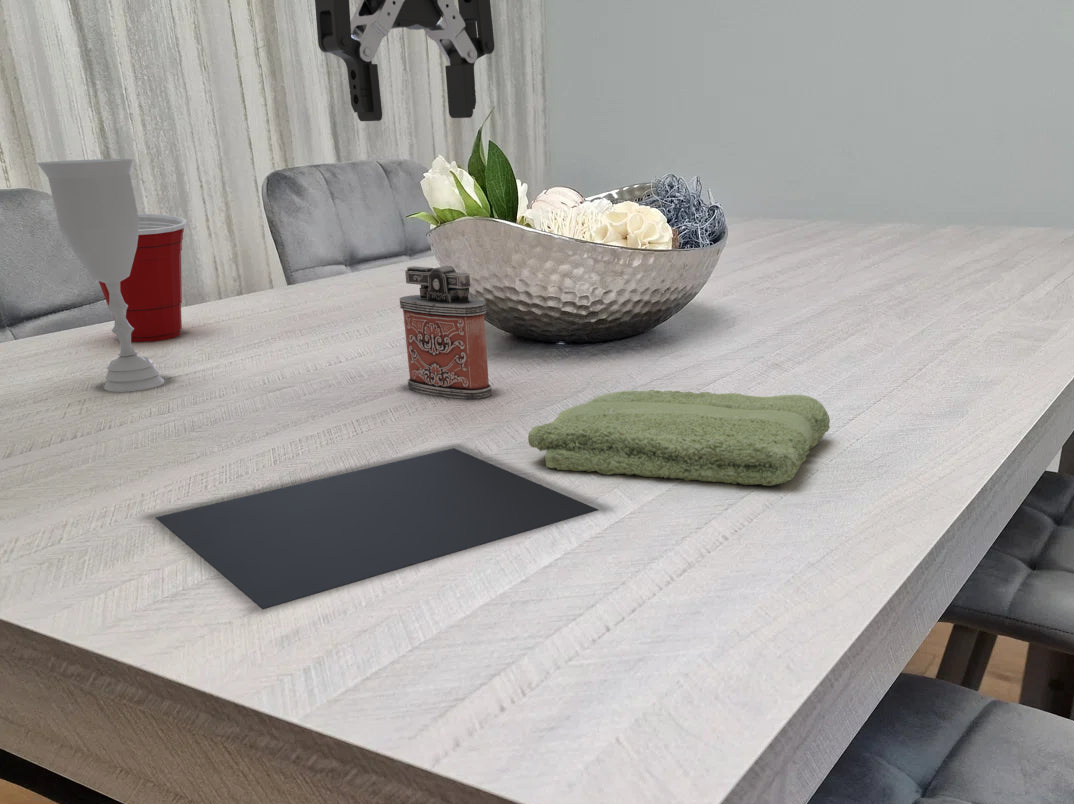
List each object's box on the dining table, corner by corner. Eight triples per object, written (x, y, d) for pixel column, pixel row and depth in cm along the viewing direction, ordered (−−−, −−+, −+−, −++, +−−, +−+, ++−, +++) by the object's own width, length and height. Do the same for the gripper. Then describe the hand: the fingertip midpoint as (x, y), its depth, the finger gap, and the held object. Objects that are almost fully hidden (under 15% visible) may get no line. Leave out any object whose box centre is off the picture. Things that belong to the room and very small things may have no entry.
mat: (263, 612, 49) (262, 608, 49) (155, 520, 60) (155, 517, 60) (598, 512, 60) (598, 509, 60) (454, 450, 71) (454, 447, 71)
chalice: (133, 374, 94) (87, 159, 87) (195, 378, 92) (153, 158, 84) (71, 394, 88) (16, 163, 80) (136, 399, 86) (85, 163, 78)
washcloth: (595, 418, 78) (594, 375, 76) (832, 438, 72) (836, 392, 70) (520, 471, 67) (517, 422, 66) (792, 500, 61) (795, 447, 59)
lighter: (501, 394, 85) (492, 267, 80) (474, 404, 82) (464, 273, 78) (426, 383, 89) (415, 261, 85) (399, 392, 86) (386, 266, 82)
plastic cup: (126, 353, 103) (98, 225, 97) (80, 340, 109) (51, 219, 104) (226, 336, 110) (206, 215, 105) (177, 324, 116) (155, 210, 111)
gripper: (442, -117, 79) (459, 118, 86) (274, -143, 70) (308, 122, 77) (507, -133, 74) (519, 117, 81) (336, -163, 65) (366, 121, 72)
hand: (417, 119), depth 79 cm, fingers open, 8 cm apart
